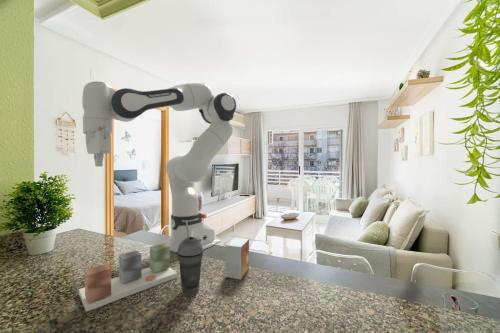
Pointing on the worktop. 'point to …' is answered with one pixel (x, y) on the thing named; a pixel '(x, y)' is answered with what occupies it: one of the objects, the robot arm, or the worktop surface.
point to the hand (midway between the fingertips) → (98, 166)
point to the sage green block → (159, 257)
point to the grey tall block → (129, 266)
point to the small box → (236, 258)
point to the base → (129, 286)
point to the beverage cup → (190, 264)
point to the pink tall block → (97, 282)
